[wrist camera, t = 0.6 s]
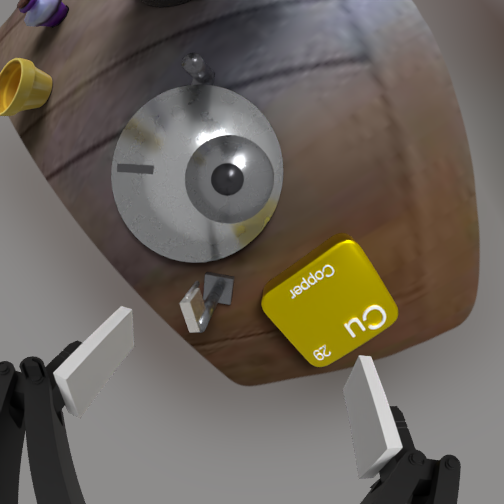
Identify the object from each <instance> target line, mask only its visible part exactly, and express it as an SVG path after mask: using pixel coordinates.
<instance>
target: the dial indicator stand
mask: <svg viewBox="0 0 504 504" xmlns="http://www.w3.org/2000/svg"><path fill="white" fill-rule="evenodd" d="M199 285H200V283H199V281H196V282H195V283H194V284H193V286H192V287H191V288H190V290H189V291H188V292H187V294H186V295H185V296H184V298H183V299H182V301H181V302H180V306H181V309H182V312H183V315H184V318H185V321H186V324H187V327H188V329H189V332H190V333H191V332H198V333H201V332H204V331H205V329H206V327H207V325H208V322H209V320H210V318H211V316H212V314H213V312H214V310H215V308H216V306H217V304H218V303H223V304H228V305H230V304H231V301H232V293H233V285H234V276H228V275H222V274H217V273H211V272H206V274H205V282H204V295H203V298H202V295H201V292H200V288H197V287H198V286H199ZM203 300H205V301H204V302H203Z"/></svg>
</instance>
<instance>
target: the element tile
mask: <svg viewBox="0 0 504 504" xmlns="http://www.w3.org/2000/svg"><path fill="white" fill-rule="evenodd" d="M261 306H262V309H263V311H264V312H265V314H266V315H267V316H268V317H269V318H270V319H271V321H272V322H273V323H274V324H275V325H276V326H277V327H278V329H279V330H280V331H281V332H282V333H283V334H284V335H285V336H286V338H287V339H288V340H289V341H290V342H291V343H292V344H293V345H294V346H295V348H296V349H297V350H298V351H299V352H300V353H301V354H302V355H303V356H304V358H305V359H306V360H307V361H308V362H309V363H310V364H311V365H313V366H316V367H323V366H327V365H329V364H331V363H332V362H334V361H336V360H338V359H339V358H341V357H343V356H344V355H346V354H348V353H349V352H351V351H353V350H354V349H356V348H357V347H359V346H361V345H362V344H364V343H365V342H367V341H368V340H370V339H372V338H373V337H375V336H376V335H378V334H379V333H381V332H382V331H384V330H385V329H386V328H388V327H389V326H391V325H392V324H393V323H394V322H395V321H396V319H397V317H398V307H397V305H396V304H395V302H394V300H393V298H392V297H391V295H390V293H389V292H388V290H387V288H386V287H385V285H384V283H383V282H382V280H381V278H380V277H379V275H378V273H377V272H376V270H375V269H374V267H373V265H372V264H371V262H370V261H369V259H368V257H367V256H366V254H365V253H364V251H363V250H362V248H361V247H360V246H359V244H358V243H357V242H356V241H355V240H354V239H353V238H352V237H351V236H349V235H348V234H345V233H339V234H336V235H334V236H332V237H330V238H329V239H328V240H326V241H325V242H324V243H322V244H321V245H319V246H318V247H317V248H315V249H314V250H313V251H311V252H310V253H308V254H307V255H306V256H304V257H303V258H301V259H300V260H299V261H297V262H296V263H294V264H293V265H292V266H290V267H289V268H287V269H286V270H285V271H283V272H282V273H280V274H279V275H278V276H276V277H275V278H273V279H272V280H270V281H269V282H268V283H267V284H266V285H265V287H264V289H263V295H262V301H261Z"/></svg>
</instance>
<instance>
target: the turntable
mask: <svg viewBox="0 0 504 504" xmlns="http://www.w3.org/2000/svg"><path fill="white" fill-rule="evenodd" d="M181 64H182V67H183V68H184V69H185V70H186V71H187V72H188V73H189V74H190V75H191V76H192V77H193V81H192V85H187V86H181V87H177V88H174V89H171V90H168V91H166V92H164V93H162V94H160V95H158V96H156V97H154V98H153V99H151V100H150V101H148V102H147V103H146V104H145V105H143V106H142V107H141V108H140V109H139V110H138V111H137V112H136V113H135V114H134V115H133V117H132V118H131V119H130V121H129V122H128V123H127V125H126V126H125V128H124V130H123V132H122V133H121V135H120V138H119V140H118V143H117V145H116V148H115V152H114V156H113V162H112V174H111V180H112V190H113V194H114V199H115V202H116V205H117V208H118V211H119V213H120V215H121V217H122V219H123V221H124V222H125V224H126V225H127V227H128V228H129V230H130V231H131V232H132V233H133V234H134V236H135V237H136V238H137V239H139V240H140V241H141V242H142V243H143V244H144V245H146V246H147V247H148V248H150V249H151V250H153V251H155V252H156V253H158V254H160V255H162V256H165V257H167V258H170V259H174V260H178V261H183V262H208V261H214V260H217V259H221V258H224V257H226V256H229V255H231V254H233V253H235V252H237V251H238V250H240V249H242V248H243V247H245V246H246V245H247V244H249V243H250V242H251V241H252V240H253V239H254V238H255V237H256V236H257V235H258V234H259V233H260V232H261V231H262V230H263V228H264V227H265V226H266V224H267V223H268V221H269V220H270V218H271V216H272V214H273V212H274V210H275V208H276V206H277V203H278V200H279V197H280V193H281V188H282V182H283V159H282V154H281V149H280V145H279V142H278V140H277V137H276V134H275V132H274V130H273V129H272V127H271V125H270V123H269V122H268V120H267V119H266V118H265V116H264V115H263V114H262V113H261V112H260V110H259V109H258V108H257V107H256V106H255V105H253V104H252V103H251V102H250V101H248V100H247V99H246V98H244V97H242V96H241V95H239V94H237V93H235V92H233V91H230V90H228V89H225V88H222V87H218V86H213V83H214V77H215V73H214V71H212V70H211V69H210V68H209V66H208V65H207V64H206V62H205V61H204V60H203V59H202V57H201V56H200V55H199V54H197V53H190V54H187V55H186V56H185V57H184V58H183V59H182V63H181ZM222 135H237V136H241V137H244V138H247V139H249V140H251V141H253V142H254V143H256V144H257V145H258V146H259V147H260V148H261V149H262V150H263V151H264V152H265V153H266V154H267V156H268V157H269V159H270V161H271V163H272V166H273V169H274V178H275V179H274V187H273V190H272V193H271V195H270V198H269V199H268V201H267V203H266V204H265V206H264V207H263V208H262V209H261V210H260V212H258V213H257V214H256V215H255V216H253V217H251V218H250V219H248V220H245V221H242V222H239V223H232V224H226V223H219V222H215V221H213V220H210V219H208V218H206V217H205V216H204V215H202V214H201V213H200V212H199V211H198V210H197V209H196V208H195V207H194V206H193V204H192V203H191V201H190V199H189V197H188V194H187V191H186V187H185V172H186V168H187V164H188V162H189V160H190V158H191V156H192V155H193V153H194V152H195V151H196V149H197V148H198V147H199V146H201V145H202V144H203V143H205V142H206V141H208V140H210V139H212V138H214V137H218V136H222Z"/></svg>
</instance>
